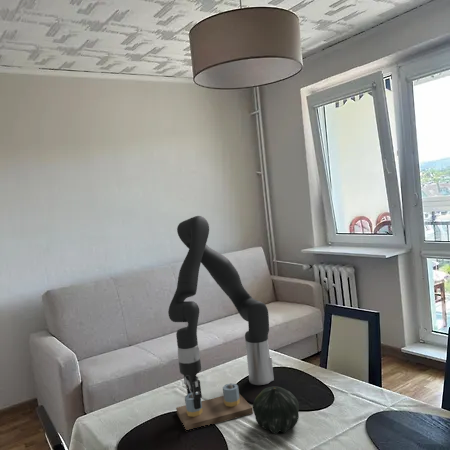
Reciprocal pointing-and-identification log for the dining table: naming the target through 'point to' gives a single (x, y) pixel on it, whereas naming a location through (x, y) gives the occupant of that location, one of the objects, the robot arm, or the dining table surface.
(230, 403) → the seated sleeve
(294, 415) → the squash
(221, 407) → the pin board
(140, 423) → the dining table surface
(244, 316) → the robot arm
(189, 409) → the slate sleeve
